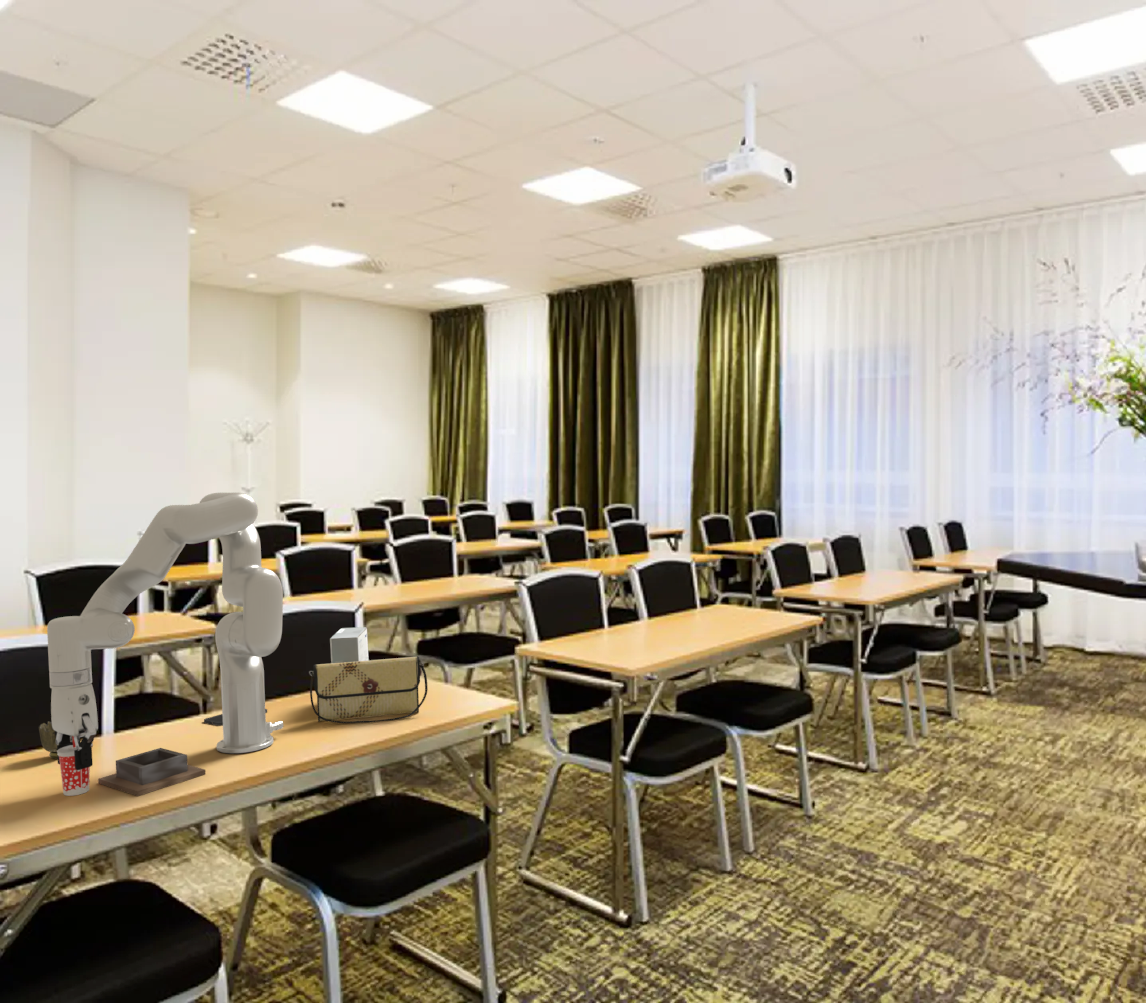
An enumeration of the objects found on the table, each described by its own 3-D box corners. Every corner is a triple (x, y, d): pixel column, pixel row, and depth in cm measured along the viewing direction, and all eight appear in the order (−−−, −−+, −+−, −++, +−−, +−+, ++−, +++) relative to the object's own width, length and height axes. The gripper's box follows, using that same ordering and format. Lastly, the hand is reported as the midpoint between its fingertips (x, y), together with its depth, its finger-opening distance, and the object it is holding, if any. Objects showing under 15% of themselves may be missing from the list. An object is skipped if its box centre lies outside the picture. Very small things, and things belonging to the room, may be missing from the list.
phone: (269, 709, 242) (220, 723, 229) (269, 713, 242) (221, 727, 229) (250, 706, 246) (201, 719, 233) (250, 710, 246) (201, 723, 233)
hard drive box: (343, 697, 256) (341, 627, 255) (370, 695, 256) (368, 626, 256) (332, 711, 240) (329, 637, 240) (361, 710, 241) (358, 636, 240)
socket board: (165, 763, 200) (164, 743, 200) (205, 774, 191) (204, 753, 191) (98, 783, 187) (97, 762, 187) (137, 796, 179) (136, 774, 179)
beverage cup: (85, 784, 187) (82, 718, 187) (98, 790, 183) (95, 722, 183) (54, 793, 182) (50, 725, 182) (66, 799, 178) (63, 729, 178)
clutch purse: (310, 728, 225) (307, 669, 224) (311, 721, 231) (309, 663, 231) (429, 717, 232) (427, 659, 231) (427, 710, 239) (425, 654, 238)
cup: (32, 762, 204) (30, 727, 203) (55, 751, 211) (53, 718, 211) (62, 762, 203) (60, 727, 202) (84, 752, 210) (82, 718, 210)
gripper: (111, 678, 180) (116, 766, 181) (68, 670, 190) (72, 753, 190) (73, 686, 174) (78, 777, 175) (30, 677, 184) (35, 763, 184)
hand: (75, 764), depth 183 cm, fingers closed on beverage cup, 6 cm apart
